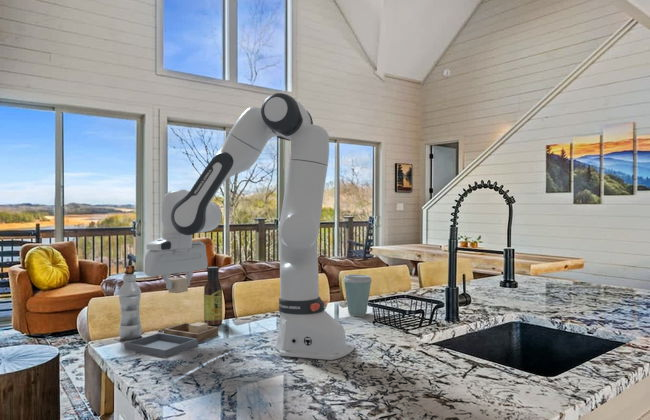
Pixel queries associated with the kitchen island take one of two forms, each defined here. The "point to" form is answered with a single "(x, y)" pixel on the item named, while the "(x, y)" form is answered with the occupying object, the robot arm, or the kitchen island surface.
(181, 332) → the brown rectangular tray
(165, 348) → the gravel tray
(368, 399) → the kitchen island surface
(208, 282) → the sauce bottle
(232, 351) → the kitchen island surface
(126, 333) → the plastic bottle
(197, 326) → the cream matte cube
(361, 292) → the disposable coffee cup
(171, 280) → the beige cube
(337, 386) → the kitchen island surface
